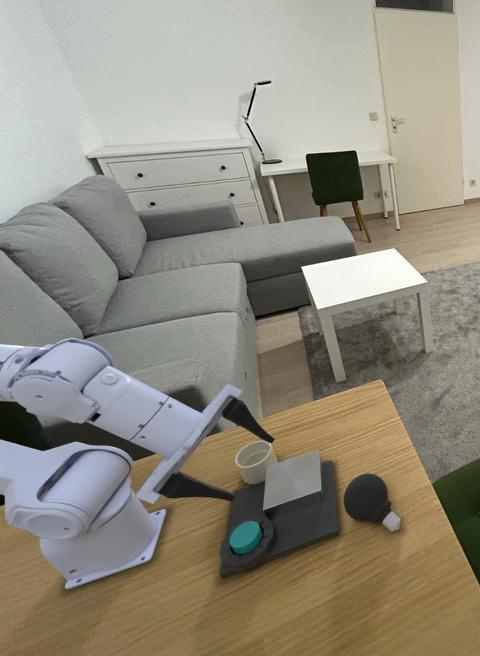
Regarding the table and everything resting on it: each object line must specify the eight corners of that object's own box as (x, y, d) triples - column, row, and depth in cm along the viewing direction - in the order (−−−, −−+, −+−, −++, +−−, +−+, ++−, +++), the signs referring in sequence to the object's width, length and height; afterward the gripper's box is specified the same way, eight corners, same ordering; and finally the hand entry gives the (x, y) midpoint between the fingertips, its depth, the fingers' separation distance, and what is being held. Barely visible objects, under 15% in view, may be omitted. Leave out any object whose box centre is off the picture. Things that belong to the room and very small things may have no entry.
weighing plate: (270, 526, 58) (262, 509, 56) (273, 481, 65) (266, 465, 63) (326, 506, 61) (321, 490, 59) (324, 465, 67) (319, 449, 65)
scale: (221, 586, 51) (213, 574, 50) (235, 496, 62) (229, 484, 61) (340, 540, 56) (336, 528, 55) (333, 465, 67) (329, 453, 66)
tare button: (231, 558, 52) (227, 552, 51) (235, 533, 55) (231, 526, 54) (261, 547, 53) (258, 541, 52) (263, 523, 56) (260, 517, 55)
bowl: (241, 490, 63) (232, 472, 61) (245, 464, 68) (237, 446, 66) (277, 478, 65) (270, 460, 63) (279, 454, 70) (272, 436, 67)
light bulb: (391, 533, 53) (340, 484, 55) (378, 557, 55) (329, 509, 58) (419, 501, 58) (371, 457, 61) (406, 524, 61) (360, 481, 64)
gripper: (92, 486, 39) (218, 534, 45) (201, 364, 47) (296, 419, 53) (95, 475, 44) (207, 520, 50) (193, 367, 52) (280, 417, 58)
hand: (252, 468), depth 52 cm, fingers open, 7 cm apart
